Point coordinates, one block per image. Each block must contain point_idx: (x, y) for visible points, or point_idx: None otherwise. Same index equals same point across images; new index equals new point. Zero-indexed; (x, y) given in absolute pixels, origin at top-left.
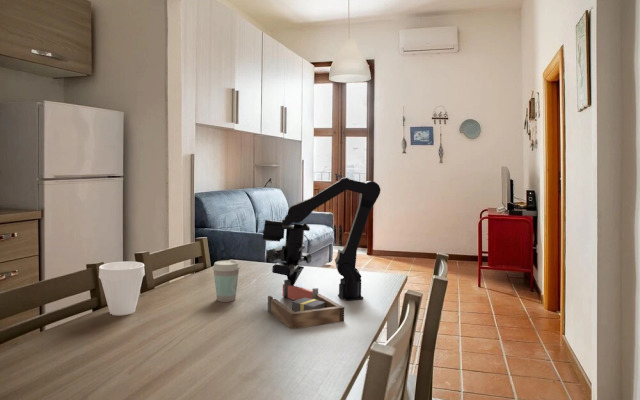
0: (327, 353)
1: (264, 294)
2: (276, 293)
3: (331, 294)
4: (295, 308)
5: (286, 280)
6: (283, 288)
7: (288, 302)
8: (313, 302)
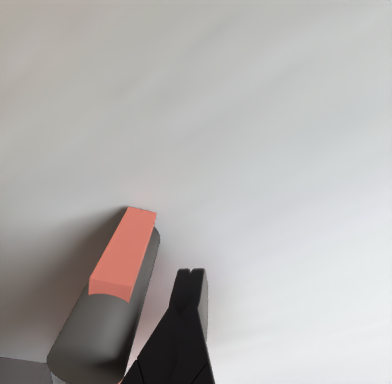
0: None
1: (95, 3)
2: (198, 96)
3: (336, 373)
4: None
5: (71, 364)
6: (106, 255)
7: (64, 281)
8: None
